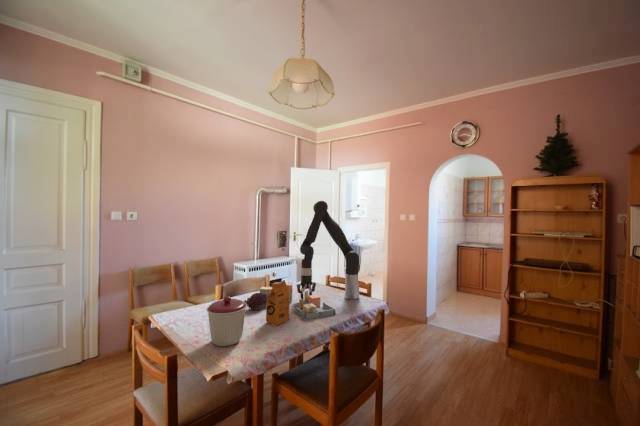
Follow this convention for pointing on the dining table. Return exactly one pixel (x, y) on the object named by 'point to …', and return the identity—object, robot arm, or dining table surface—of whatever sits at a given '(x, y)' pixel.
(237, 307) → the canister
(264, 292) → the stack of blocks
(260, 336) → the dining table surface
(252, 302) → the pine cone
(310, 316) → the shelf rack
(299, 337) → the dining table surface
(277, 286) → the coffee package
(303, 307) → the birch block
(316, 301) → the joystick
